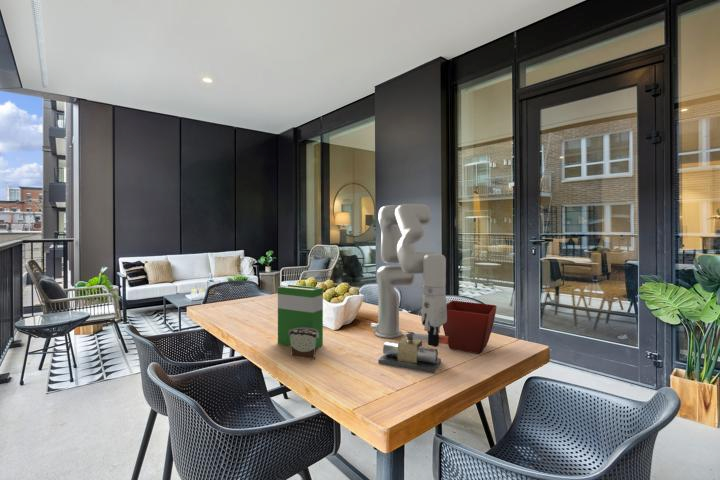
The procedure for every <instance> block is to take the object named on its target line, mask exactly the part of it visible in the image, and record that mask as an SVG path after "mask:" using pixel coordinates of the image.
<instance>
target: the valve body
mask: <svg viewBox="0 0 720 480" xmlns="http://www.w3.org/2000/svg"><path fill="white" fill-rule="evenodd" d="M438 352H439V351H438V348H435V347H434V348H433V347H428V346H427V347H425V346H423V340H418V339H413V340H409V339H406V336H403V337H402V338H401V339H400V340H399V341H397V342H395V341H394V342H393V341H385V342H384V343H383V346H382V353H383V355H382V356H381V357H379V358H378V364H379V365H384V366H389V367H390V366H391V367H396V368H400V369H401V368H402V369H408V370H412V371H419V372H423V373H429V374H435V372H436V371H437V369H438V368H439V367H440V365H441V364H442V358H439V357H438V355H439V353H438Z"/></svg>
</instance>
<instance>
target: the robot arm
mask: <svg viewBox="0 0 720 480" xmlns="http://www.w3.org/2000/svg"><path fill="white" fill-rule="evenodd" d="M431 219H432V212H431V210H430V207H429V206H428V205H426V204H423V203H421V204H420V203H403V204H398V205H397V204H390V205H389V204H388V205H384V206H382V207H380V209H379V210H378V222H379V228H380V231H381V235H380V236H381V237H380V239H381V242H380V258H381V261H382V262H383V263H385V264H399V265H383V266H380V267H379V268H378V269H377V271H376V282H377V290H378V291H377V292H378V293H377V294H378V299H377V300H378V305H377V306H378V307H377V308H378V309H377V310H378V311H377V312H378V316H377V317H378V318H377V320H378V321H377V323H374V322H371V323H370V329H375V330H374V335H375V336H377V337H379V338H384V339H394V338H395V339H396V338H400V337H401V336H402V335H403V331H402V330H400V296H399V293H398V292H397V290H396V289H395V287H410V286H412V285H413V284H414V282H415V275H416V274H417V275H419V274H420V275H421V274H422V303H421V304H422V305H421V325H423V326H424V327H423V330H424V331H427V335H428V341H427V345H428V346H430V347H434V348H438V346H439V345H440V343H439V335H440V333H441V330H440V329H441V327H442V326H443V324H445V323H446V322H447V304H448V303H447V297H446V283H447V277H446V276H447V275H446V272H447V258H446V256H445V255H444V254H441V253H440V254H439V253H436V252H425V251H424V252H423V251H421V252H419V251H418V252H417V251H416V248H415V246H414V245H413V244H415V243H418V242H419V241H420V240H422V239H423V237H424V235H425V228H424V226H426V225H429V223H430V221H431Z"/></svg>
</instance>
